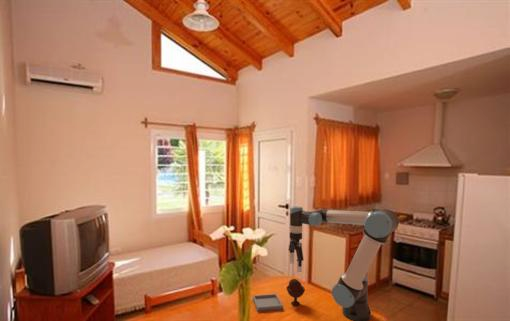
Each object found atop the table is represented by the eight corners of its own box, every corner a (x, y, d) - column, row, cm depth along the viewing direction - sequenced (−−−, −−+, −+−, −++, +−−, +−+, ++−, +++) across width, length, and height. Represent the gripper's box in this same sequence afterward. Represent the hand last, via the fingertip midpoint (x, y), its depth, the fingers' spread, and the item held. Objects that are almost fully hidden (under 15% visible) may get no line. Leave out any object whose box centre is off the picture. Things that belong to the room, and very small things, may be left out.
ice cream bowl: (304, 309, 158) (304, 283, 159) (285, 307, 160) (285, 281, 161) (305, 300, 168) (305, 276, 169) (286, 298, 171) (287, 274, 171)
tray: (282, 309, 157) (282, 305, 157) (257, 312, 154) (257, 307, 154) (276, 297, 172) (276, 293, 172) (252, 299, 169) (252, 295, 169)
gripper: (284, 227, 177) (283, 260, 177) (296, 237, 153) (296, 275, 152) (295, 227, 179) (294, 260, 178) (309, 237, 154) (309, 275, 154)
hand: (295, 267), depth 165 cm, fingers open, 13 cm apart
